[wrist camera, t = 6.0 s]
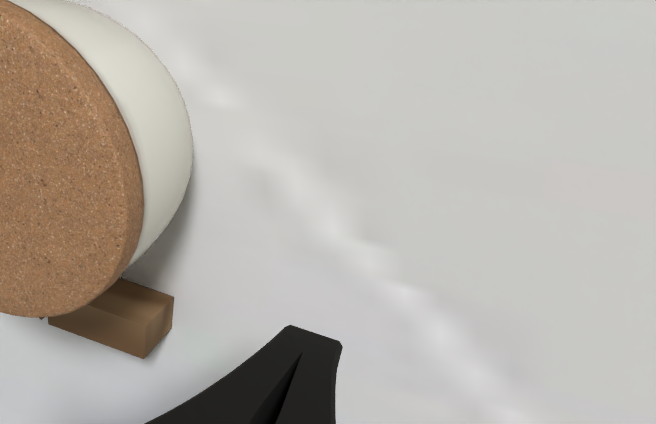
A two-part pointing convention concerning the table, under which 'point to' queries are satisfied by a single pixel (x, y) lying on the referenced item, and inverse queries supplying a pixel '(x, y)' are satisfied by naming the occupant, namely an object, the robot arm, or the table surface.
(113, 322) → the yoke
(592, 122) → the table surface
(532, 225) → the table surface
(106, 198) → the lidded jar
